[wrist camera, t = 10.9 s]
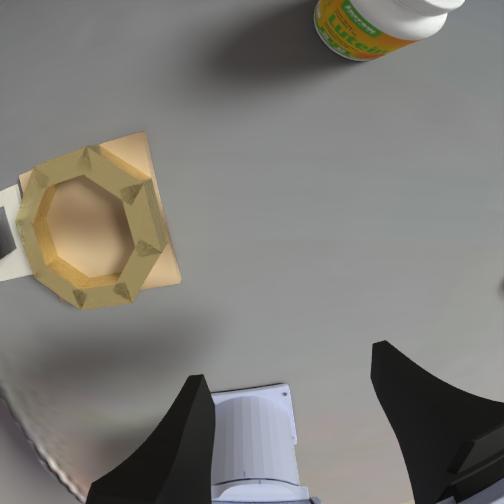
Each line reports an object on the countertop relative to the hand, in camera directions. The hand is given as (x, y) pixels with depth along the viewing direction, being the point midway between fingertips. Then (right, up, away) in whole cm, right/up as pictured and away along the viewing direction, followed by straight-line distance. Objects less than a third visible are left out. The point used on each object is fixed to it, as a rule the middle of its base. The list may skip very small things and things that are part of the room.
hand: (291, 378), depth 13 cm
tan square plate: (-12, +7, +7) cm, 16 cm away
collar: (-12, +7, +7) cm, 16 cm away
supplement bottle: (+5, +20, +3) cm, 21 cm away
